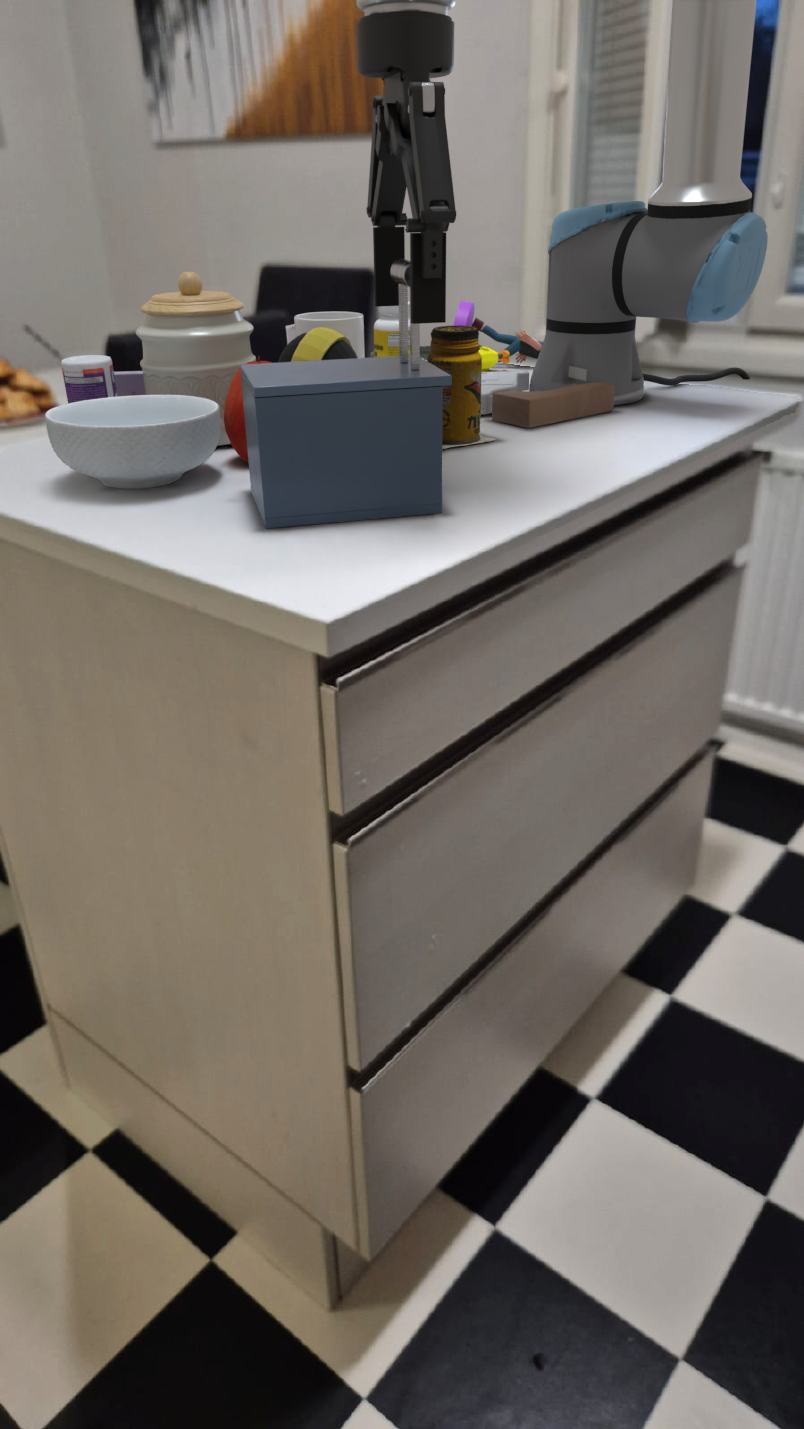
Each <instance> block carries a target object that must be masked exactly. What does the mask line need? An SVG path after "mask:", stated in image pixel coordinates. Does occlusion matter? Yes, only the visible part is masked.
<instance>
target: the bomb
mask: <svg viewBox="0 0 804 1429" xmlns="http://www.w3.org/2000/svg"><path fill="white" fill-rule="evenodd" d="M354 358H358V357H357V355H356V353H355V351H354V350H353V348H352V346H351V343H350V340H349V339H347V338H346V337H345V336H343V335H342V334H341V333H339V332H337V331H335V330H333V329H329V328H325V327H317V328H313V329H312V330H311V331H309V332H306V333H303V334H301V335H299V336H297V337H296V338H294V339H293V340H292V341H291V342H289V343H288V345H287V344H286V346H285V347H284V348H283V350H282V352H281V354H280V355H279V359H278V361H277V363H281V362H299V361H317V360H336V359H354Z"/></svg>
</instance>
